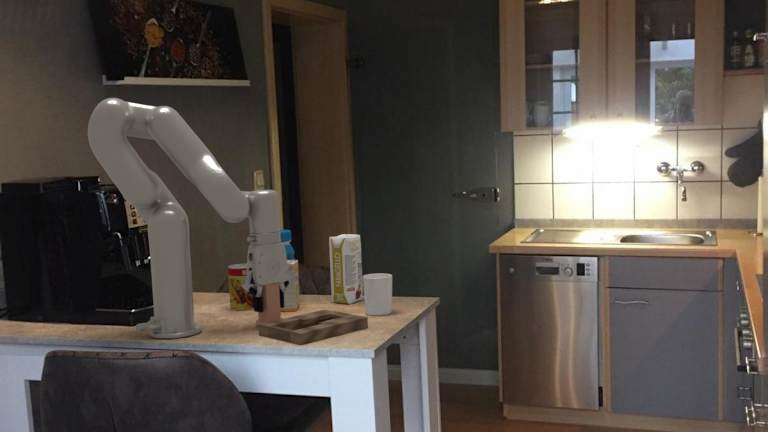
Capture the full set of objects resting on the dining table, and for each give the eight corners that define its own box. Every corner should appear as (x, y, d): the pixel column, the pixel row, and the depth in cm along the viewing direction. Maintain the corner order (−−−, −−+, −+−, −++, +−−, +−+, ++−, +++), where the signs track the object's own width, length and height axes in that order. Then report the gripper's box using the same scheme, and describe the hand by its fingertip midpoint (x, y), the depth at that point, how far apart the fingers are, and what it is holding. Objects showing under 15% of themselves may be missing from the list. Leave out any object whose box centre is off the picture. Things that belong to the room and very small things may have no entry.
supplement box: (297, 311, 224) (294, 263, 222) (279, 311, 224) (277, 264, 223) (300, 305, 232) (298, 259, 231) (283, 305, 232) (281, 260, 231)
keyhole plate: (300, 344, 186) (300, 333, 186) (259, 335, 197) (258, 324, 197) (367, 327, 201) (367, 317, 200) (325, 319, 212) (324, 309, 212)
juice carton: (366, 299, 237) (363, 234, 235) (350, 305, 229) (347, 237, 227) (344, 297, 240) (341, 233, 239) (328, 303, 233) (325, 237, 231)
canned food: (253, 310, 227) (250, 267, 226) (226, 310, 228) (223, 268, 227) (262, 304, 235) (260, 263, 234) (236, 305, 236) (233, 263, 235)
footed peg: (267, 329, 203) (264, 281, 202) (250, 325, 208) (248, 278, 207) (289, 324, 208) (287, 277, 207) (272, 320, 213) (270, 274, 212)
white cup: (360, 316, 214) (358, 278, 213) (368, 309, 222) (366, 273, 221) (389, 316, 212) (388, 278, 211) (396, 310, 220) (395, 273, 219)
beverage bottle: (299, 298, 242) (295, 231, 240) (270, 301, 240) (267, 233, 238) (294, 293, 250) (291, 228, 248) (267, 296, 248) (263, 230, 246)
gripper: (245, 243, 197) (249, 317, 199) (301, 236, 210) (305, 305, 211) (228, 242, 203) (232, 313, 204) (283, 234, 215) (287, 302, 216)
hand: (269, 308), depth 208 cm, fingers open, 5 cm apart
